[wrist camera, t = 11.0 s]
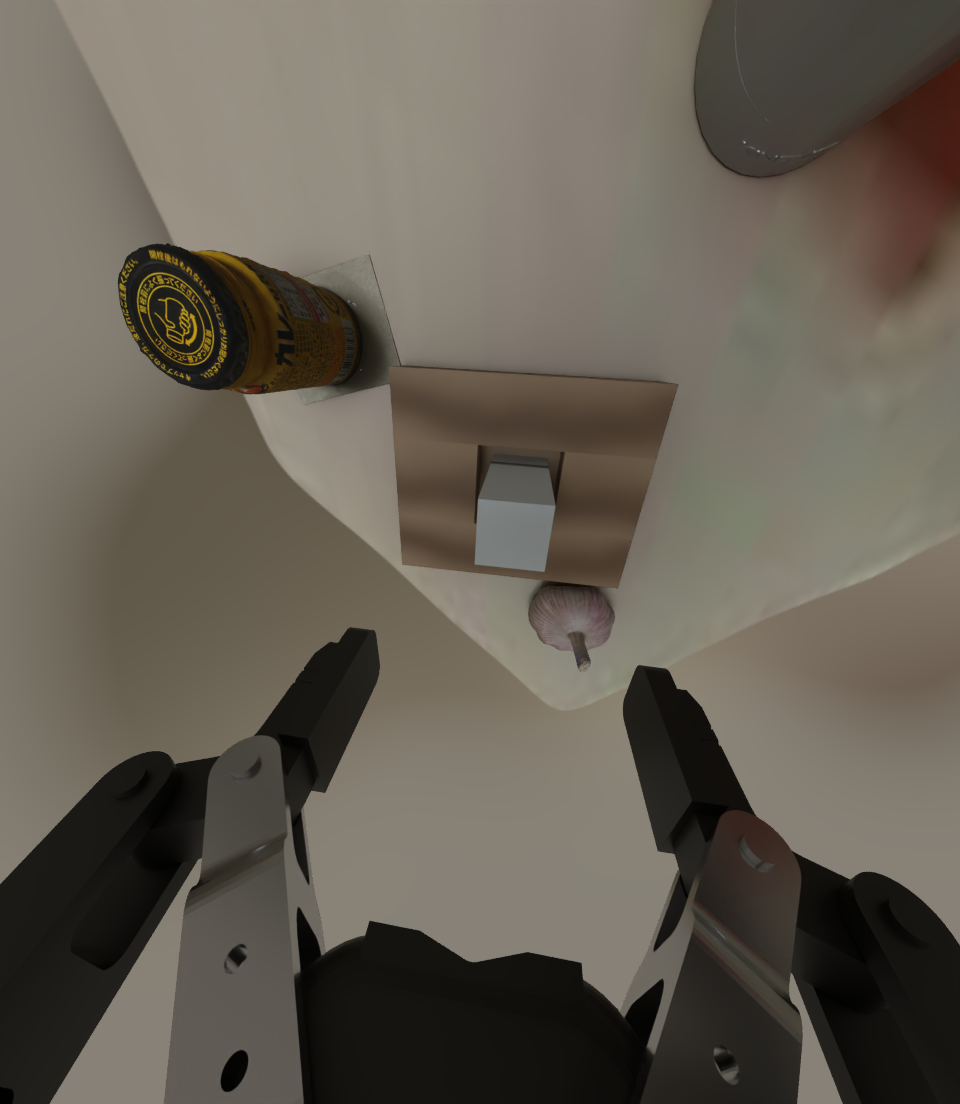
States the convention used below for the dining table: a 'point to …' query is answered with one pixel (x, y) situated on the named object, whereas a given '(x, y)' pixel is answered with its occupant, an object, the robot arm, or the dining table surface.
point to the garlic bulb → (572, 620)
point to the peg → (515, 513)
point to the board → (525, 430)
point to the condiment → (257, 323)
